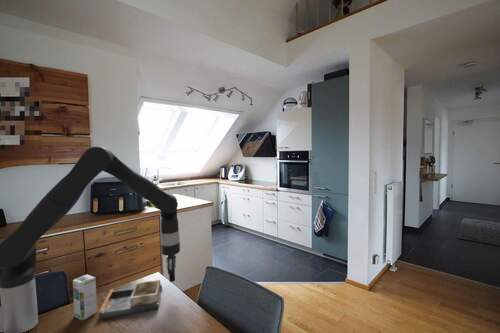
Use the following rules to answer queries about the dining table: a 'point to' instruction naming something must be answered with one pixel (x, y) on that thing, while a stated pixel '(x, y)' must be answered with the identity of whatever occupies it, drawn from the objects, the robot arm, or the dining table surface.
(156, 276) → the dining table surface
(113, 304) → the bay
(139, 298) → the box
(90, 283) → the syrup box
